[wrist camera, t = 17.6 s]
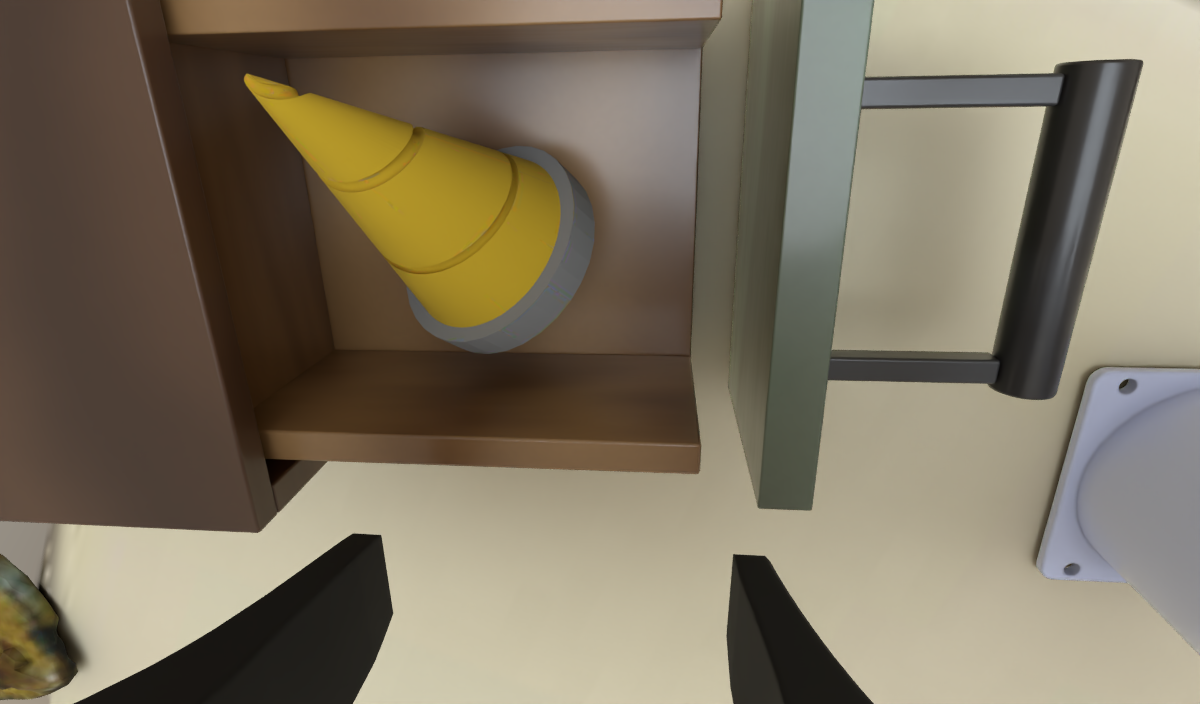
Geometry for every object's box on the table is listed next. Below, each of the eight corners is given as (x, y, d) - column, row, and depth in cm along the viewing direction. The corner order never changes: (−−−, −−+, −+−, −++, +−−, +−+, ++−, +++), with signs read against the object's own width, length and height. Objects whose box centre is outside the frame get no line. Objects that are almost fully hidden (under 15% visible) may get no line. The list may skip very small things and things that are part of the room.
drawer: (1031, -22, 16) (1274, -108, 10) (949, 391, 20) (1083, 522, 14) (269, 3, 18) (52, -57, 11) (335, 377, 22) (202, 487, 15)
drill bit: (470, 350, 20) (122, 189, 12) (544, 202, 21) (253, -48, 13) (594, 412, 17) (232, 250, 9) (678, 236, 17) (404, -70, 9)
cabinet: (346, -18, 18) (99, -119, 10) (401, 384, 23) (259, 534, 15) (-139, -1, 20) (-691, -78, 12) (3, 375, 24) (-325, 507, 16)
